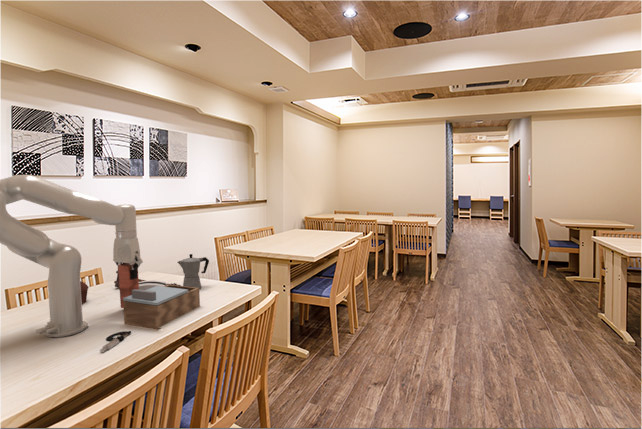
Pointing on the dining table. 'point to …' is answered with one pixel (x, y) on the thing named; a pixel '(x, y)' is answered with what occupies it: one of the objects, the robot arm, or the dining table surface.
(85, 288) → the muffin
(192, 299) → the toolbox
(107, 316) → the dining table surface
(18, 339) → the dining table surface
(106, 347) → the micrometer
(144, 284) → the white curved piece
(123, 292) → the peg
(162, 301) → the lid
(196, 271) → the coffeepot
